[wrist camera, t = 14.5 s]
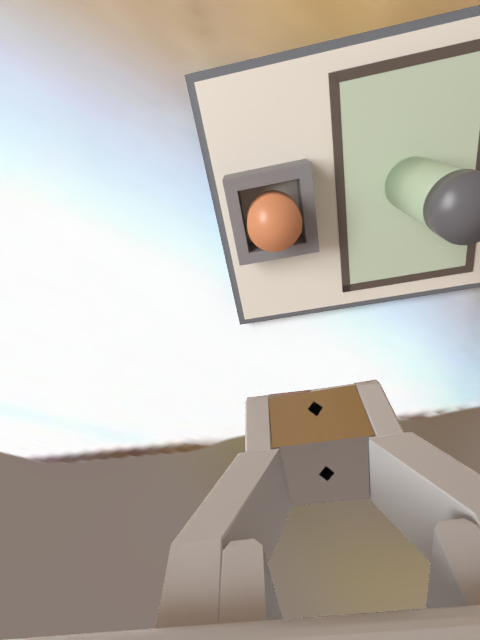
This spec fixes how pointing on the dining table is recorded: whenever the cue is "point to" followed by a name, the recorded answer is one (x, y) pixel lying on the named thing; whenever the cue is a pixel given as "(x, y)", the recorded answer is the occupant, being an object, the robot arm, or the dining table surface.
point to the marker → (438, 197)
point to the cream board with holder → (341, 162)
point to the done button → (274, 221)
